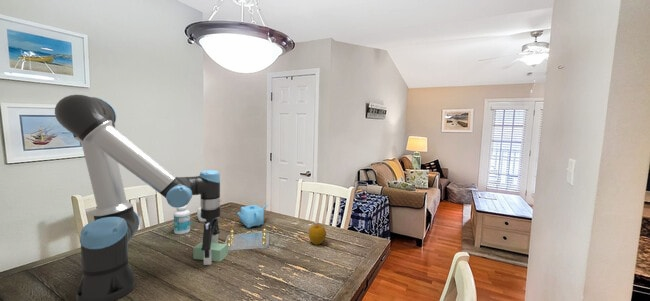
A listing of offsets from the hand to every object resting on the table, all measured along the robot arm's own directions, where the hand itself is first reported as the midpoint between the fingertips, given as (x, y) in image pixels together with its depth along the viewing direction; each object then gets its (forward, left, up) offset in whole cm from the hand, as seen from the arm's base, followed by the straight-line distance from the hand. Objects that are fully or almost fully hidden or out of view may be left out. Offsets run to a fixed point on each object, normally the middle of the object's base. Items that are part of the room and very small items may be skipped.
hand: (211, 256), depth 114 cm
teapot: (+35, -15, 0) cm, 38 cm away
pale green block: (0, 0, 0) cm, 0 cm away
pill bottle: (+29, +20, 0) cm, 35 cm away
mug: (+45, +11, 0) cm, 46 cm away
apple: (+7, -47, 0) cm, 47 cm away
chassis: (+12, -14, 0) cm, 18 cm away
